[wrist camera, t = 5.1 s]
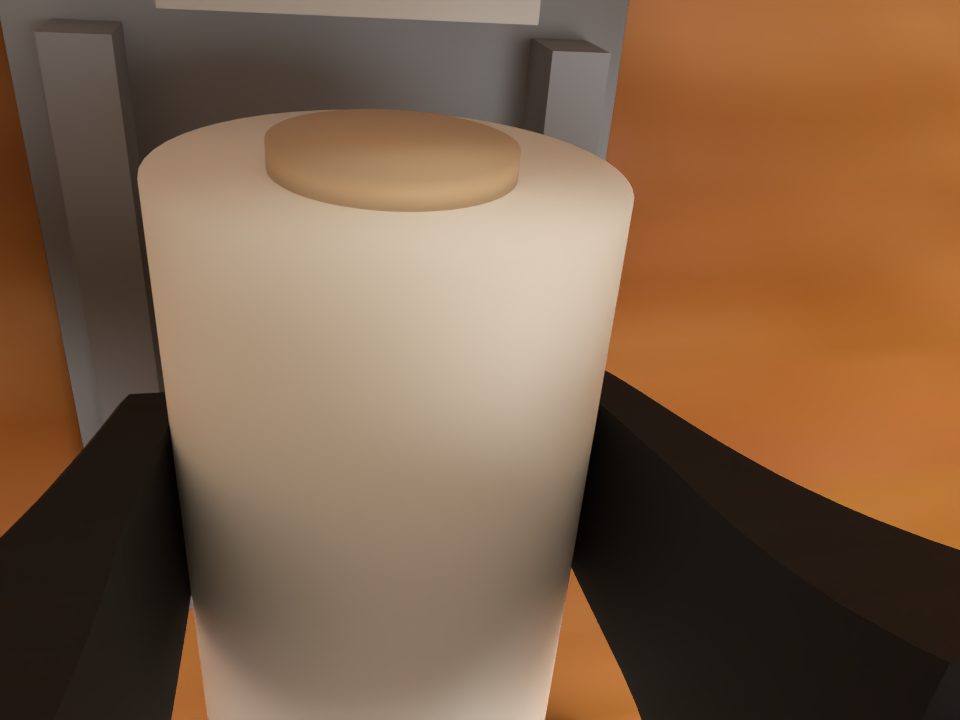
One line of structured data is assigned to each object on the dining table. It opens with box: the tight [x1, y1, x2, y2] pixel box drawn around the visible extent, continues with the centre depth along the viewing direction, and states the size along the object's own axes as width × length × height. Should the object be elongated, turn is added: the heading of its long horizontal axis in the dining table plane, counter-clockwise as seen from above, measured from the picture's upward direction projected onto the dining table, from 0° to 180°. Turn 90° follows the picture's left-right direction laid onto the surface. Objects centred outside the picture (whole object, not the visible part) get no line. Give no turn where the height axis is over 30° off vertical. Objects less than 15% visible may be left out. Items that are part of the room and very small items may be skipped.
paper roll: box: [137, 109, 634, 720], centre depth 11 cm, size 9×5×5 cm, turn 175°
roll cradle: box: [0, 0, 629, 609], centre depth 15 cm, size 16×10×4 cm, turn 176°
